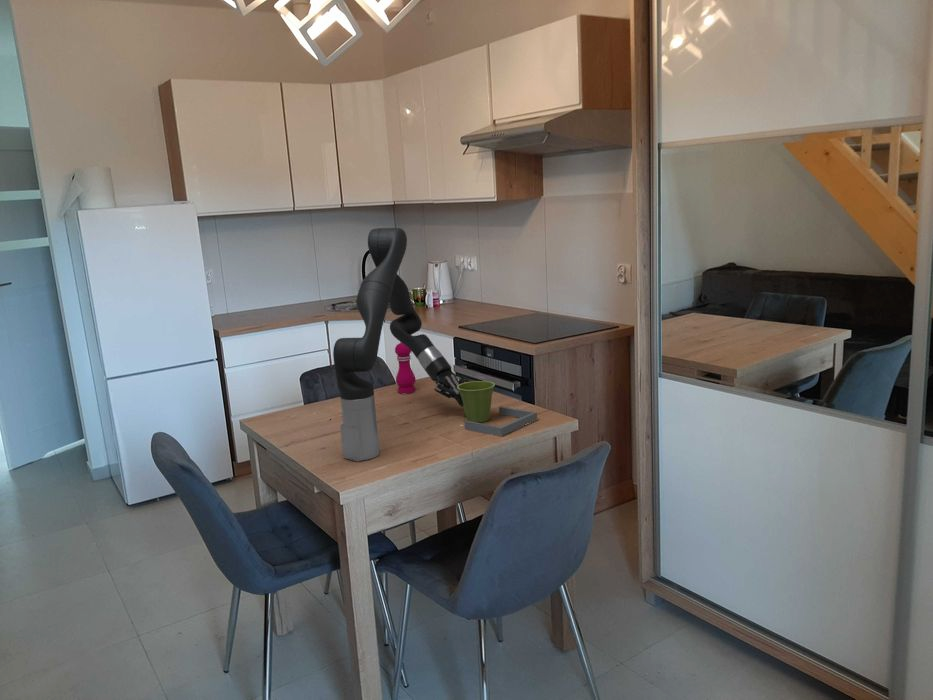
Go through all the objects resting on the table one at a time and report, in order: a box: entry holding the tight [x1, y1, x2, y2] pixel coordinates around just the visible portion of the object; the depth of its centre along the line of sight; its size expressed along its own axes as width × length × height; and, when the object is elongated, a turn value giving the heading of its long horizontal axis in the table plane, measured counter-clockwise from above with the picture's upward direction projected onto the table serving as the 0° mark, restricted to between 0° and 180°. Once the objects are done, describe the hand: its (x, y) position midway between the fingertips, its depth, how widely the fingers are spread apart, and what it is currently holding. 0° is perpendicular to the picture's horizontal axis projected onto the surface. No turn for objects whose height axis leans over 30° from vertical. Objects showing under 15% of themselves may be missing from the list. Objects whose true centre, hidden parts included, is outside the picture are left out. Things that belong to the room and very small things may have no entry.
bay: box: [463, 406, 538, 437], centre depth 218 cm, size 18×14×2 cm
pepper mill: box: [394, 342, 417, 394], centre depth 262 cm, size 7×7×20 cm
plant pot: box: [457, 380, 496, 423], centre depth 224 cm, size 12×12×11 cm
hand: (465, 404), depth 227 cm, fingers closed
